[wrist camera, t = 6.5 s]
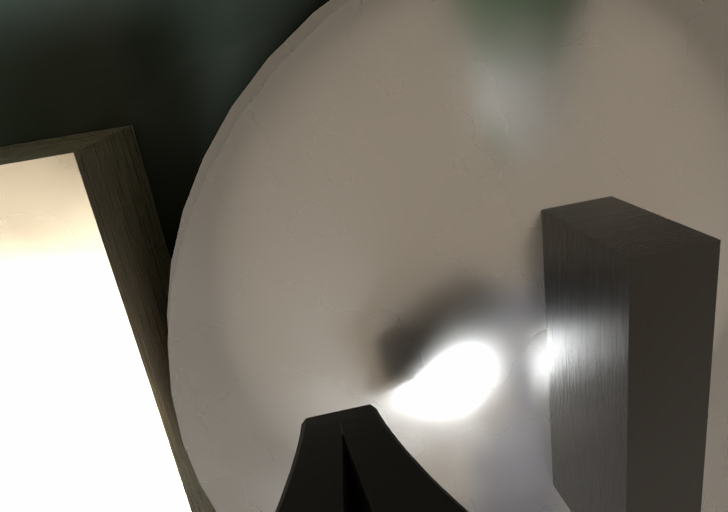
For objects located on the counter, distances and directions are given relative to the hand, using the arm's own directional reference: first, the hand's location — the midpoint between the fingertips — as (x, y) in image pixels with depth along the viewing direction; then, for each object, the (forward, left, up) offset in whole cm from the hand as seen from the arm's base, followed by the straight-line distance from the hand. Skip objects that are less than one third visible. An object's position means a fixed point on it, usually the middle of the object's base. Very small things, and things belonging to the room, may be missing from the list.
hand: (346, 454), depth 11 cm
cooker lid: (0, -5, -3) cm, 6 cm away
